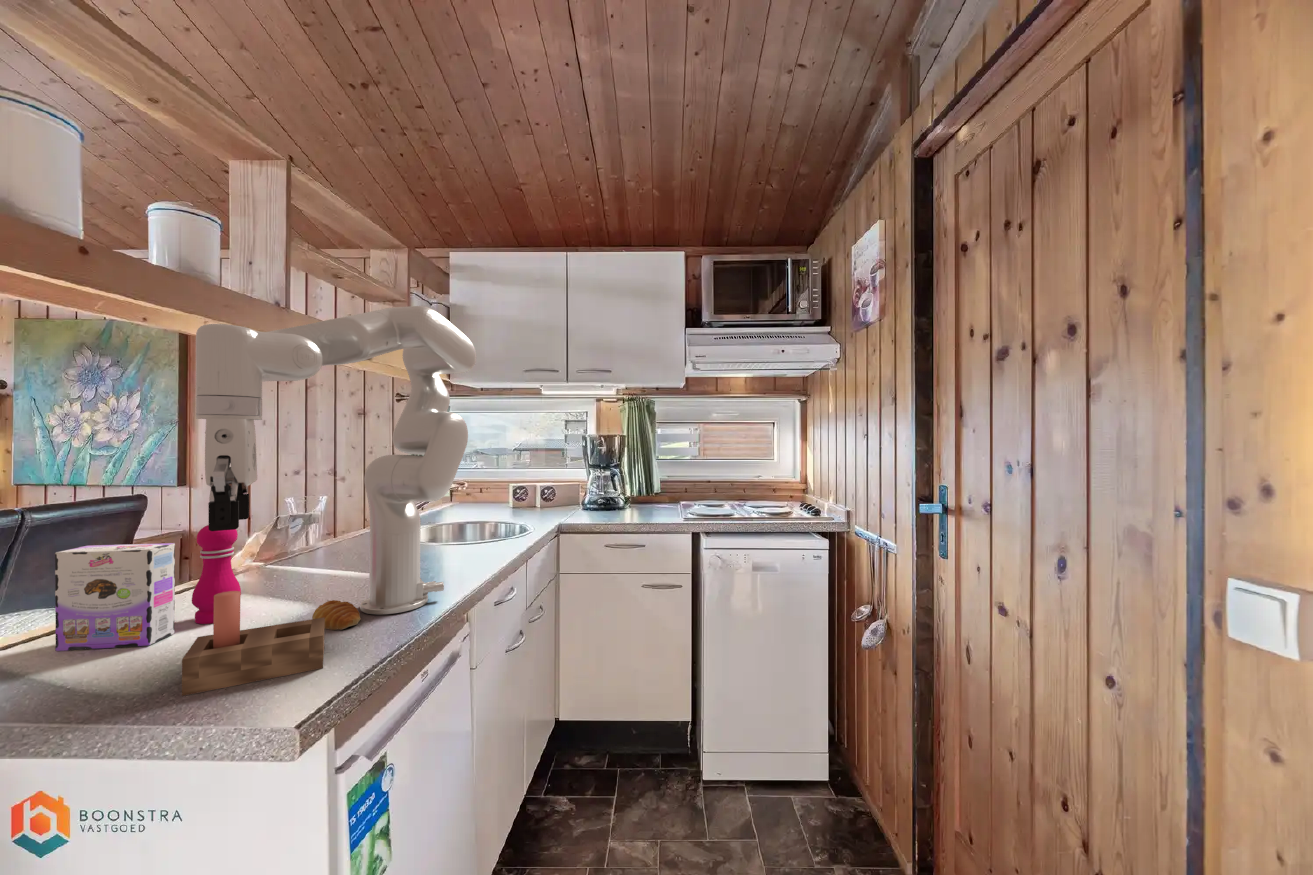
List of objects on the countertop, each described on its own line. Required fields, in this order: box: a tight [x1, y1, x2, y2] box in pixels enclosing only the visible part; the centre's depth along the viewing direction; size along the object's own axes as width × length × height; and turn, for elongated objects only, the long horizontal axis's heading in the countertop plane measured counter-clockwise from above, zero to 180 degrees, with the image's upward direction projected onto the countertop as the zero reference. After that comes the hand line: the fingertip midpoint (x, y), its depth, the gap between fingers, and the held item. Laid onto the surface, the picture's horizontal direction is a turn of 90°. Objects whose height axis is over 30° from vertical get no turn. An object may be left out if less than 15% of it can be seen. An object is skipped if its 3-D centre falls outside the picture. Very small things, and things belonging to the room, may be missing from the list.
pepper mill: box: [191, 524, 242, 625], centre depth 97 cm, size 7×7×20 cm
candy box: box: [54, 542, 176, 652], centre depth 86 cm, size 14×6×16 cm, turn 99°
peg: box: [212, 591, 242, 649], centre depth 74 cm, size 3×3×10 cm
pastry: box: [311, 599, 361, 631], centre depth 95 cm, size 9×7×4 cm
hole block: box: [181, 617, 326, 697], centre depth 76 cm, size 16×9×5 cm, turn 122°
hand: (230, 524), depth 75 cm, fingers open, 9 cm apart
